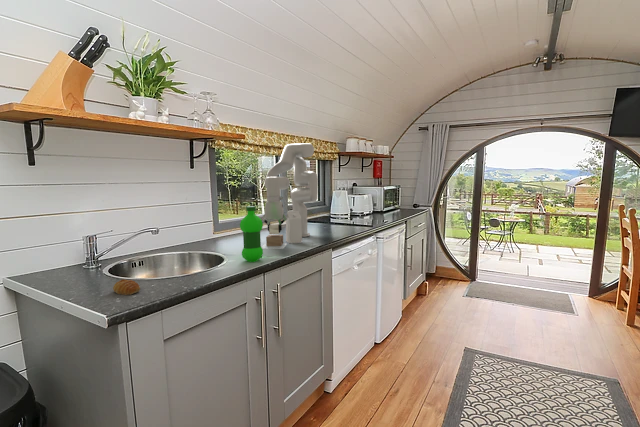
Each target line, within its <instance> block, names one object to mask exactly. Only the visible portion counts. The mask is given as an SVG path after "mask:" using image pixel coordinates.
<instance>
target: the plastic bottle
mask: <svg viewBox="0 0 640 427" xmlns="http://www.w3.org/2000/svg"><path fill="white" fill-rule="evenodd" d="M256 209H257V208H256V206H255V205H254V206H252V205H251V206H245V210H246V211H247V214H246V215H245V216H244V217H243V218H242V219H241V220H240V223H239V228H240V230H241V232H242V238H243V248H242V250H241V256H242V258H243V259H244V260H245V261H247V262H250V263H254V262H258V261H259V260H260V259H262V257H263V255H264V249H262V243H261V241H262V240H261V231H262V230H263V227H264V226H263V225H264V224H263V222H264V221H263V220H261V218H260V217H259V216H258V215H257V214H255V211H256Z"/></svg>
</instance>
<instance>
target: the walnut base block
mask: <svg viewBox="0 0 640 427" xmlns="http://www.w3.org/2000/svg"><path fill="white" fill-rule="evenodd" d="M265 241H266V246H281V245H282V244H283V243H284V234H267V236H266V237H265Z"/></svg>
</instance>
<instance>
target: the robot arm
mask: <svg viewBox="0 0 640 427" xmlns="http://www.w3.org/2000/svg"><path fill="white" fill-rule="evenodd" d="M314 152H315V147H314V145H313V144H312V143H311V142H309V143H306V142H305V143H304V142H303V143H300V142H299V143H289V144H286V145H285V146H284V148H283V150H282V153H281V155H280V159H279V161H278V162H277V163H275V164H274V165H273V166H272V167H270V168H269V170H268V171H267V173H266V175H265V179H264V187H265V189H266V202H265V205H264V215H263V216H262V217H261V218H260V219H261V220H262V222H264V223H265V224H266V226H267V231H268V232H269V225H270V224H271V221H277V222H278V224H279V232H280V233H281V232H282V229H283V227H282V225H283V224H284V222H286V220H287V219H288V218H287V217H286V216H287V215H285V213H284V211H285V210H284V205H283V204H284V203H283V201H282V200H284V197H283V196H281V191H283V190H287V189H289V187H290V185H291V181H290V179H289V178H288V177H286V176H284V175H283V176H279V175H280V174H283V173H286V172H288V171H290V170H291V169H293V184H294V185H295V186H298V187H295V188H293V189H292V190H291V192H290V198H291V199H290V200H291V203H292V204H291V206H292V211H299V214H300V216H301V225H302V238H305V237H309V236H311V234H310V233H309V232H308V231H309V230H308V208H307V206H306V205H305V203H310V204H311V203H315V202H317V200H318V187H319V186H318V185H319V182H318V181H319V178H318V174H317V172H316V171H311V170H308V169H307V168H308V166H307V162H306V160H305V159H304V158H310V157H313V155H314V154H315V153H314Z"/></svg>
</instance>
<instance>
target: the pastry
mask: <svg viewBox="0 0 640 427" xmlns="http://www.w3.org/2000/svg"><path fill="white" fill-rule="evenodd" d="M112 288H113V289H112V290H113V292H114V293H116V294H117V295H123V296H124V295H125V296H128V295H129V296H130V295H133V294H136V293H139V292H140V290H141V288H140V285H139V284H138V283H137V282H136V281H135V280H133V279H119V281H117V282H115V283H114V285H113V287H112Z"/></svg>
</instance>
